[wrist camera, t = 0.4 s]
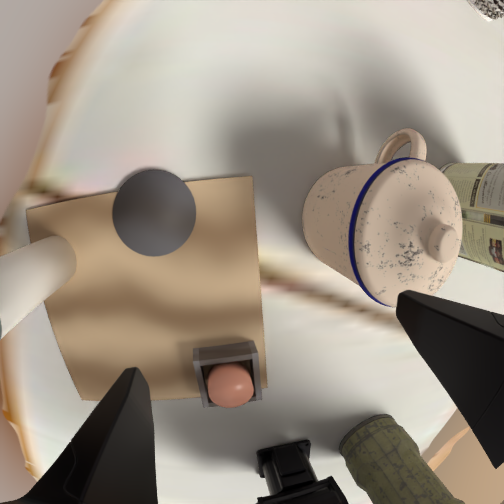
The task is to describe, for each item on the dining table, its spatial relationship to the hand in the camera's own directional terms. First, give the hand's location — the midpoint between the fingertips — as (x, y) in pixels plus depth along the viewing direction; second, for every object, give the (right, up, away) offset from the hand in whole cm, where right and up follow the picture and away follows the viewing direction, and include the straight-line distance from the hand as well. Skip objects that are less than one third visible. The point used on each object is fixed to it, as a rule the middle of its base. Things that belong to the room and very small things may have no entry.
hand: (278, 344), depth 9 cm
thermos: (+15, -22, +22) cm, 35 cm away
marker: (-17, +2, +11) cm, 20 cm away
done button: (-3, -8, +14) cm, 16 cm away
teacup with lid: (+8, +7, +15) cm, 18 cm away
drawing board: (-9, -2, +13) cm, 16 cm away
